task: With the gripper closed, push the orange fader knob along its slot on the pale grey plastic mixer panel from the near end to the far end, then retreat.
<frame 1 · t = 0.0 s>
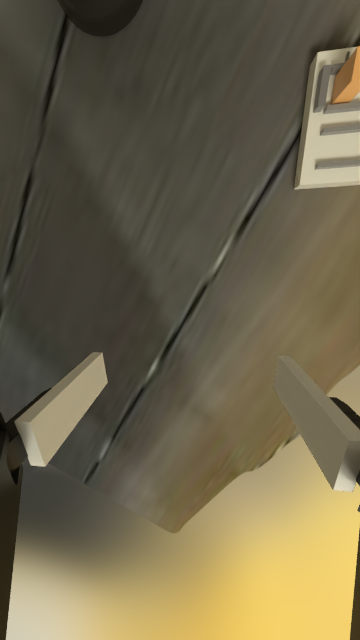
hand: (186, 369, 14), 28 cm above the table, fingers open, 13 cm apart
fader knob: (353, 76, 25), point 4 cm above the table, slide at 0.0 cm
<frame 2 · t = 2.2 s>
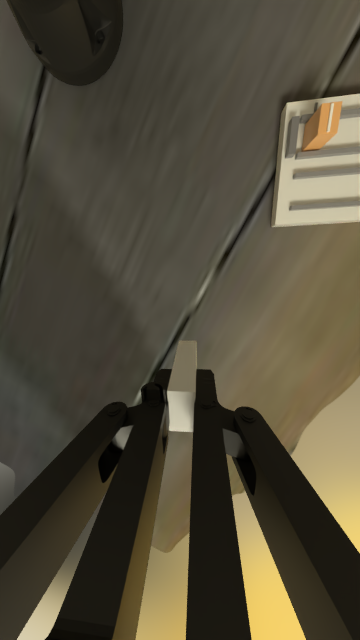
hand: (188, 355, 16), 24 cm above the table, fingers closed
fader knob: (320, 128, 26), point 4 cm above the table, slide at 0.0 cm
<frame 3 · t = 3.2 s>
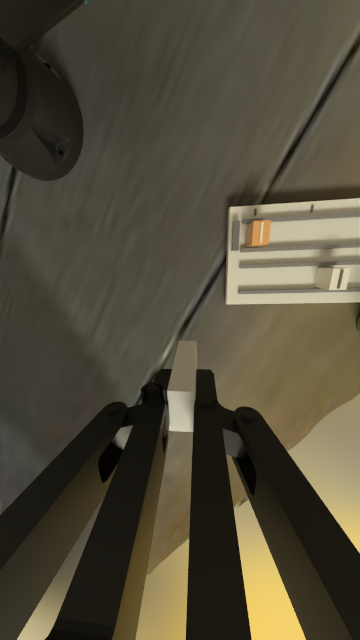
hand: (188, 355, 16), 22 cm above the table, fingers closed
fader panel: (301, 256, 33), on the table
fader knob: (257, 234, 29), point 4 cm above the table, slide at 0.0 cm
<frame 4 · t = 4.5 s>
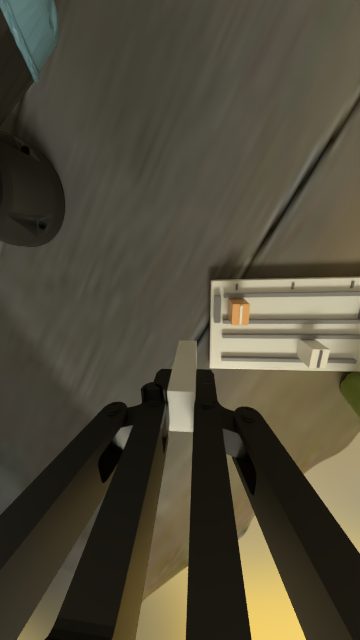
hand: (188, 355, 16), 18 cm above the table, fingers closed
plant pot: (358, 383, 36), on the table
fader panel: (284, 324, 33), on the table
fader knob: (238, 311, 29), point 4 cm above the table, slide at 0.0 cm
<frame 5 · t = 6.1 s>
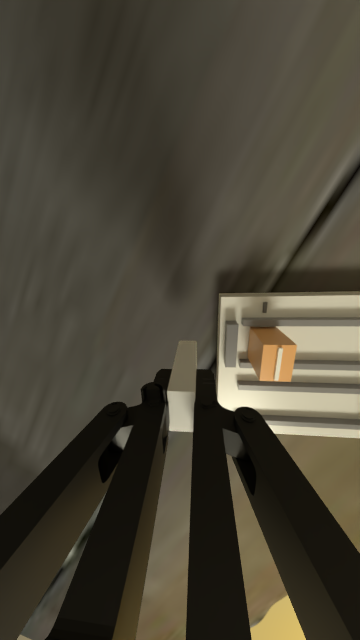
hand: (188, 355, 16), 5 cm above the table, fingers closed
fader panel: (337, 364, 20), on the table
fader knob: (268, 352, 16), point 4 cm above the table, slide at 0.0 cm
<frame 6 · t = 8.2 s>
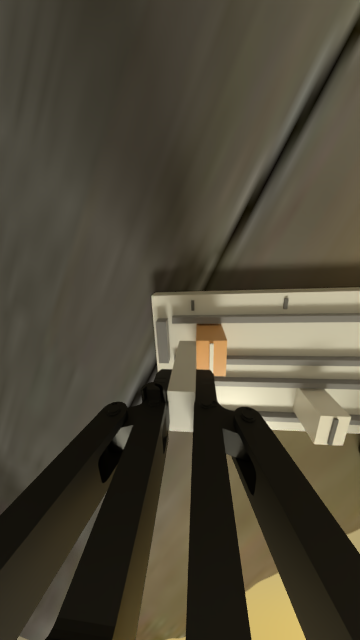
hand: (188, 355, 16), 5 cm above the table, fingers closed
fader panel: (274, 359, 21), on the table
fader knob: (209, 348, 17), point 4 cm above the table, slide at 1.5 cm, touching gripper
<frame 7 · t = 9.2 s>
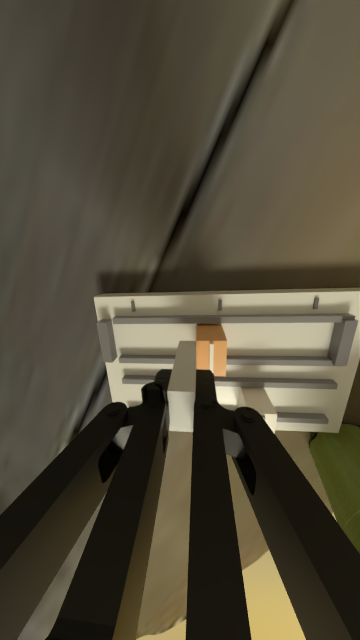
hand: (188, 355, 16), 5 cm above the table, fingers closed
plant pot: (336, 442, 24), on the table
fader panel: (221, 359, 22), on the table
fader knob: (209, 348, 17), point 4 cm above the table, slide at 7.5 cm, touching gripper
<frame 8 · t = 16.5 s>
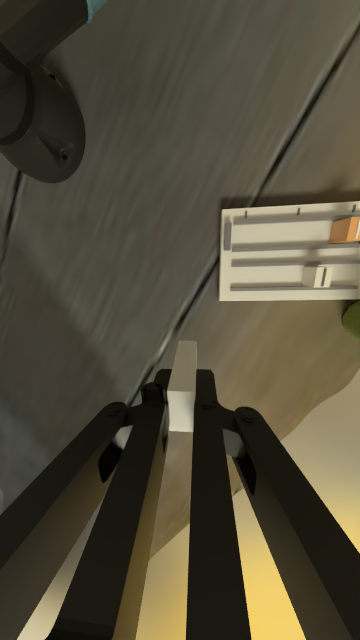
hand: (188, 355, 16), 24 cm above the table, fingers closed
plant pot: (359, 316, 38), on the table
fader panel: (289, 256, 35), on the table
fader knob: (348, 230, 30), point 4 cm above the table, slide at 15.4 cm
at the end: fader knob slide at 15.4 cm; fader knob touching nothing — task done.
